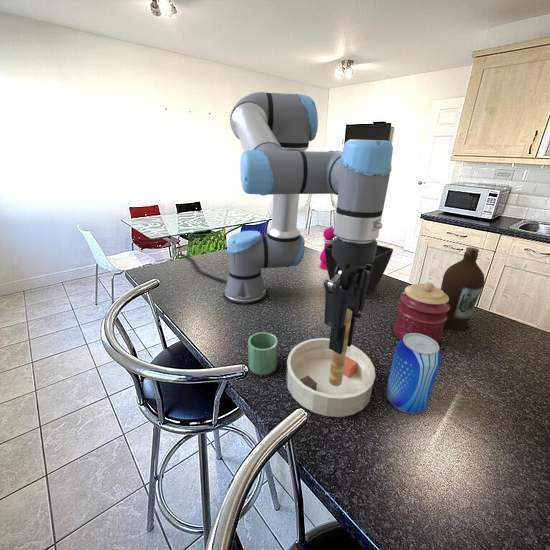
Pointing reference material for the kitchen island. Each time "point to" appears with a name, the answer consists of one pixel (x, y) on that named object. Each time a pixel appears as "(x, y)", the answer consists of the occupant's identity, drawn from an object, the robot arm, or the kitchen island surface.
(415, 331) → the kitchen canister
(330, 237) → the pepper mill
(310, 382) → the walnut block
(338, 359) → the stir stick
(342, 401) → the bowl
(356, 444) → the kitchen island surface
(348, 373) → the terracotta block
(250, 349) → the cup
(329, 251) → the flower pot
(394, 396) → the beer can
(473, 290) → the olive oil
